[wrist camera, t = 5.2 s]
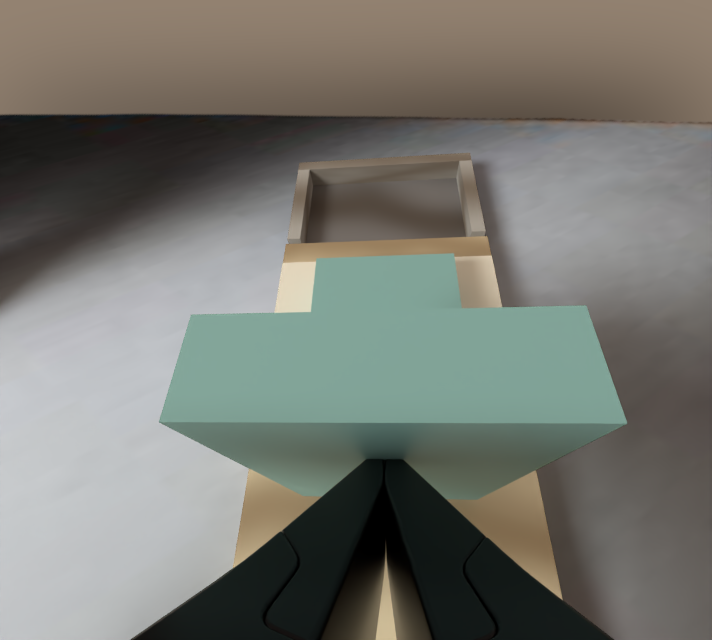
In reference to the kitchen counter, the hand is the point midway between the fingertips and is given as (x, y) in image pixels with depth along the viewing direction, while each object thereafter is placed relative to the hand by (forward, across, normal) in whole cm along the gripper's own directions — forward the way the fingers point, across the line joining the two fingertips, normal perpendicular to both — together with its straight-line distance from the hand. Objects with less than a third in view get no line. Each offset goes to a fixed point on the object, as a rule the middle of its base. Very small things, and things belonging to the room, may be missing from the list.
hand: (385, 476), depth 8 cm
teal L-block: (+9, 0, -2) cm, 10 cm away
